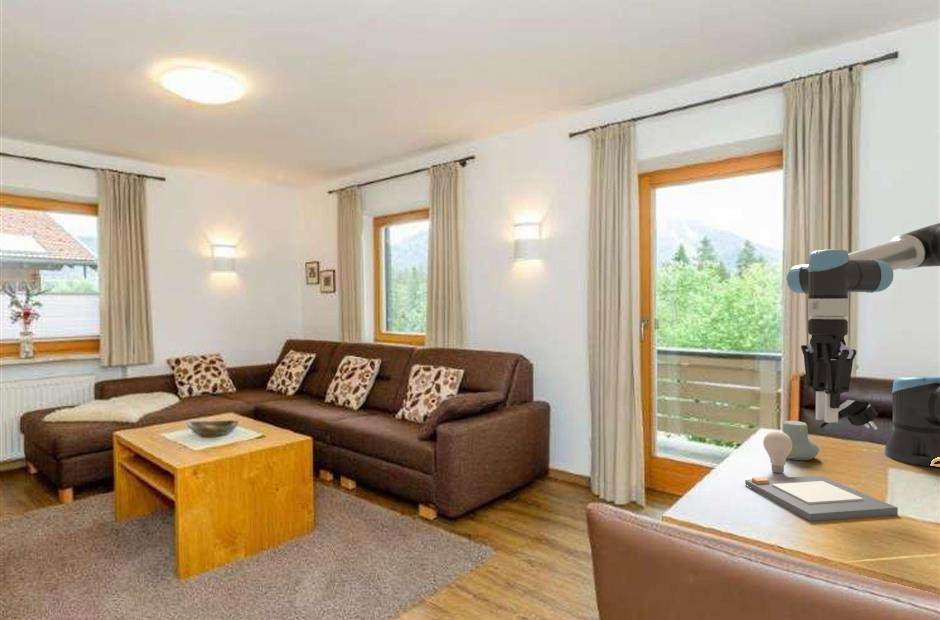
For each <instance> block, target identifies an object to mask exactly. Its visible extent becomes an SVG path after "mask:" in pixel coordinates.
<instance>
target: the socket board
mask: <svg viewBox="0 0 940 620" xmlns="http://www.w3.org/2000/svg"><path fill="white" fill-rule="evenodd" d="M744 483H745V484H746V485H748V486H749V487H751V488H753V489H754V490H753V489H752V490H753V491H755V490H756V491H758V492H759V493H758V492H757V493H758V494H760V493H761V494H760V495H762V494H763V495H764V496H763V495H762V496H763V497H765V496H766V497H765V498H767V497H768V498H767V499H769V500H771V501H772V502H774V501H775V502H774V503H776V504H778V505H779V506H781V507H783V508H785V509H787V510H789V511H790V512H792V513H794V514H796V515H798V516H799V517H801V518H803V519H806V520H807V521H809V522H817V521H830V520H844V519H845V520H846V519H858V518H859V519H860V518H873V517H886V516H898V513H899V512H898V511H899V509H898V507H897V506H895V505H892V504H891V503H888V502H885V501H883V500H881V499H878V498H875V497H873V496H871V495H868V494H866V493H863V492H861V491H858V490H857V489H854V488H851V487H849V486H847V485H844V484H842V483H840V482H838V481H836V480H835V481H834V480H833V479H830V478H827V477H825V476H823V475H820V474H819V475H808V476H807V475H806V476H804V475H803V476H789V477H787V476H786V477H773V478H772V477H771V478H766V477H763V476H762V477H751V479H745V480H744ZM746 485H745V486H746ZM749 487H748V488H749ZM751 488H750V489H751ZM756 491H755V492H756Z"/></svg>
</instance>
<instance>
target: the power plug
mask: <svg viewBox="0 0 940 620" xmlns="http://www.w3.org/2000/svg"><path fill="white" fill-rule="evenodd" d="M878 415H879V413H878V412H877V410H876V409H875V408H874V407H873V405H872V404H871V403H870V402H868V401H863V400H852V399H846V400H845V401H844V402H843V403H840V408H838V421H839V420H842V419H844V418H846V419H847V420H848V421H849V422H850V425H852V426H856V427H859V426H865V428H866V429H869V428H870V425H871V428H873V429H874V430H878V426H877V425H876V424H875V423H874V421H875V418H877V417H878ZM833 423H834V424H835V422H833ZM833 423H832V424H833ZM827 425H829V423H827V422H825V421H824V422H823V423H821V424H820V425H819V426H818V428H819V429H820V430H821V429H823V428H824V427H826V426H827Z"/></svg>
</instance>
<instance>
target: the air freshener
mask: <svg viewBox="0 0 940 620" xmlns="http://www.w3.org/2000/svg"><path fill="white" fill-rule="evenodd" d="M808 428H809V427H808V424H807V422H804V421H800V420H798V421H797V420H784V421H783V422H782V432H783V433H785V434H787V435H788V436H789V437H790V439H791V441H792V450H791V452H790V454H789V455H788V457H787V458H786V459H787V460H788V459H789V460H792V461H793V460H794V461H809V460H812V459H814V458H816V457H817V456H818V454H819V450H820V449H819V446H818V444H816V443H815V442H814V441H813V440H812V439H810V438H808V437H809V436H808V435H809V433H808V432H809V430H808Z"/></svg>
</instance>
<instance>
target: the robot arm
mask: <svg viewBox="0 0 940 620" xmlns="http://www.w3.org/2000/svg"><path fill="white" fill-rule="evenodd" d="M923 267H924V268H925V267H940V222H939V223H934V224H931V225H927V226H925V227H920V228H918V229H916V230H911V231H909V232H906V233H903V234H900V235H896V236H894V237H892V238H891V239H890V241H888V242H885V243H881V244H878V245H874V246H871V247H867V248H864V249H859V250H856V251H852V252H848V251H847V250H846V249H840V248H839V249H837V248H836V249H821V250H814V251H812V252H810V254H809V255H808V264H806V263H802V264H797V265H794V266H792V267H791V268H790V269H789V270H788V272H787V275H786V283H787V286H788V288H789V289H790V290H791V291H792V292H793V293H798V294H805V295H808V296H807V299H808V303H807V305H808V306H807V307H808V308H807V315H808V316H809V317H811V318H808V320H807V333H808V334H809V335H811V337H810V340H809V343H808V344H805V345H804V344H802V345H801V346H800V349H801V352H802V354H803V361H804V370H805V382H806V386H807V387H809V388H810V387H811V388H812V390H813V391H814V392H813V393H814V395H813V396H814V397H813V398H814V404H815V420H816V421H824V422H827V423H832V424H833V422H834V423H839V420H838V408H840V405H841V394H844V393H848V392H849V391H850V385H851V378H852V370H853V362H854V359H855V357H856V355H857V350H856V349H854V348H853V349H852V348H850V347H848V346H847V343H846V340H845V336H847V335H848V334H849V333H848V332H849V326H848V325H849V320H847V317H848V316H849V293H868V294H869V293H871V294H872V293H878V292H884V291H885V290H887V289H888V288H889V287H890V286H891V284H892V283H893V280H894V271H895V270H896V271H897V270H899V269H901V270H912V269H916V268H923ZM892 383H893V384H892V391H891V394H892V429H891V431H890V434H889V437H888V439H887V442H886V444H885V446H884V455H885V457H887V458H889V459H890V460H893V461H897V462H900V463H905V464H909V465H914V466H919V465H921V467H926V466H930V464H931V461H932V460H933V459H935V458H937V457H940V375H937V376H936V375H933V376H932V375H929V376H927V375H925V376H924V375H921V376H920V375H915V376H900V377H896V378H895V379H894V380H893V382H892ZM934 464H940V461H937V462H935V463H934Z"/></svg>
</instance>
